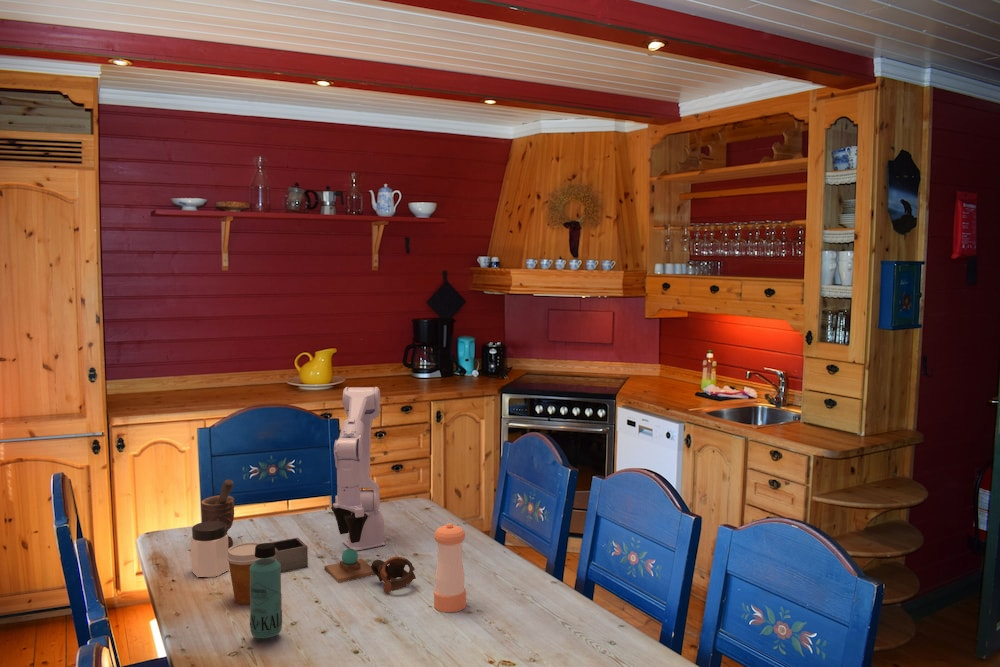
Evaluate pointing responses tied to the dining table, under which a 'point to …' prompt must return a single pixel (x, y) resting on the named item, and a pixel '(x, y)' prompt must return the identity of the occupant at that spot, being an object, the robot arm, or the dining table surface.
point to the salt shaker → (449, 569)
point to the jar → (209, 549)
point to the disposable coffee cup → (241, 570)
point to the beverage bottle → (265, 593)
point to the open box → (291, 554)
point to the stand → (349, 570)
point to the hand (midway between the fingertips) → (349, 537)
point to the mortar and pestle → (220, 508)
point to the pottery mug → (393, 573)
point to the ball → (349, 556)
